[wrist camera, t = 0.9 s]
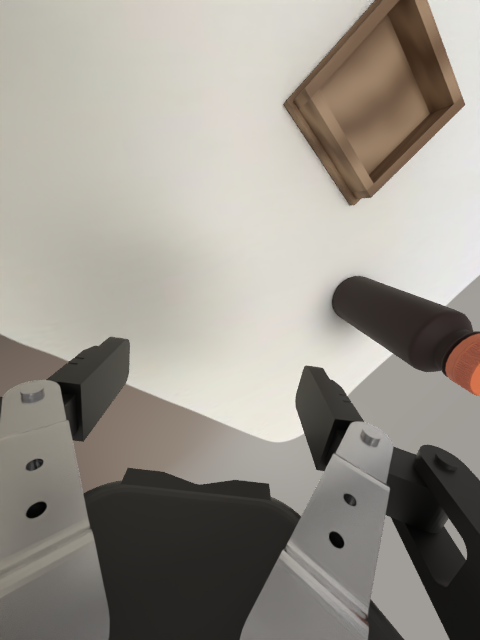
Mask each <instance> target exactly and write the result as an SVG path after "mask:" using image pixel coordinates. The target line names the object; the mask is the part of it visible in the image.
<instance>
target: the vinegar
mask: <svg viewBox="0 0 480 640" xmlns="http://www.w3.org/2000/svg"><path fill="white" fill-rule="evenodd" d="M333 308H334V310H335V312H336V314H337V315H338V316H340V317H341V318H342V319H344V320H345V321H347V322H348V323H350V324H351V325H352V326H354V327H355V328H357V329H358V330H360V331H361V332H363V333H364V334H366V335H367V336H369V337H370V338H371V339H373V340H374V341H376V342H377V343H379V344H380V345H382V346H383V347H385V348H386V349H388V350H389V351H390V352H392V353H393V354H395V355H396V356H398V357H399V358H401V359H402V360H404V361H405V362H407V363H408V364H409V365H411V366H413V367H414V368H416V369H418V370H421V371H424V372H434V371H441V370H442V372H443V373H444V374H445V376H447V377H449V379H450V380H452V381H453V382H455V383H457V384H458V385H460V386H461V387H463V388H465V389H466V390H468V391H469V392H471V393H472V394H474V395H478V396H480V332H473V329H472V325H471V322H470V321H469V319H468V318H467V317H466V316H465V314H463V313H460V312H458V311H456V310H454V309H451V308H448V307H446V306H443V305H440V304H437V303H435V302H432V301H429V300H426V299H424V298H421V297H418V296H415V295H412V294H410V293H407V292H404V291H401V290H399V289H396V288H393V287H390V286H388V285H385V284H382V283H379V282H377V281H374V280H371V279H368V278H366V277H361V276H355V277H352V278H349V279H347V280H345V281H344V282H342V284H341V285H340V286H339V287H338V288H337V290H336V292H335V294H334V297H333Z"/></svg>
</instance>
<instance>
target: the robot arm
mask: <svg viewBox="0 0 480 640" xmlns="http://www.w3.org/2000/svg"><path fill="white" fill-rule="evenodd" d="M129 354H130V343H129V340H128V339H122V338H115V337H109V338H108V339H107V340H105V341H104V342H103V343H102V344H101V345H99V346H93V347H91V348H88V349H86V350H83V351H82V352H81V353H80V354H78V355H77V356H76V357H75V358H73V359H72V360H71V361H69V363H68V364H66V365H64V366H63V367H62V368H61V369H60V370H58V371H57V372H55V373H54V374H53V375H52V376H50V377H49V378H48V379H47V380H36V381H30V382H26V383H23V384H20V385H17V386H15V387H13V388H12V389H10V390H9V391H7V392H6V393H5V395H4V396H3V397H0V640H404V639H403V638H402V636H401V635H400V634H399V633H398V632H397V630H396V629H395V628H394V627H393V626H392V624H391V623H390V622H389V621H388V620H387V619H386V617H385V616H384V615H383V613H382V612H381V611H380V610H379V609H378V608H377V606H376V605H375V604H374V603H373V601H372V600H371V599H370V598H371V592H372V586H373V581H374V575H375V570H376V564H377V558H378V553H379V548H380V542H381V537H382V531H383V525H384V520H385V515H387V516H390V517H391V518H392V520H393V523H394V525H395V527H396V529H397V531H398V533H399V535H400V537H401V539H402V541H403V543H404V545H405V548H406V550H407V552H408V554H409V556H410V558H411V560H412V562H413V564H414V566H415V568H416V570H417V572H418V574H419V576H420V579H421V581H422V583H423V585H424V587H425V589H426V591H427V593H428V595H429V597H430V600H431V602H432V604H433V606H434V608H435V610H436V612H437V614H438V616H439V618H440V620H441V622H442V624H443V626H444V629H445V631H446V633H447V635H448V637H449V639H450V640H480V481H479V479H478V478H477V477H476V476H475V475H474V474H473V473H472V472H471V471H470V469H469V468H468V467H467V466H466V465H465V464H464V463H463V462H461V461H460V460H459V459H458V458H457V457H455V456H454V455H452V454H451V453H449V452H447V451H445V450H443V449H441V448H438V447H435V446H432V445H423V446H421V447H420V449H419V451H418V453H417V455H415V454H412V453H409V452H406V451H404V450H401V449H398V448H396V447H393V443H392V441H391V440H390V438H389V437H388V436H387V435H386V434H385V433H384V432H383V431H381V430H380V429H379V428H377V427H375V426H373V425H371V424H368V423H365V422H364V421H363V419H362V418H361V416H360V415H359V413H358V412H357V410H356V408H355V407H354V406H353V404H352V403H351V401H350V399H349V398H348V397H347V395H346V393H345V392H344V390H343V389H342V387H341V386H339V385H338V384H337V383H336V382H335V381H333V380H330V379H329V377H328V376H327V374H326V373H325V371H324V369H323V368H320V367H313V366H305V367H304V369H303V372H302V376H301V379H300V383H299V386H298V390H297V393H296V401H295V402H296V409H297V412H298V415H299V418H300V421H301V424H302V427H303V430H304V433H305V436H306V439H307V442H308V445H309V448H310V451H311V454H312V457H313V460H314V463H315V467H316V469H317V470H321V471H324V473H323V475H322V477H321V479H320V481H319V483H318V485H317V487H316V489H315V491H314V493H313V495H312V497H311V498H310V500H309V503H308V504H307V506H306V509H305V510H304V512H303V514H302V516H300V515H299V514H298V513H296V512H295V511H294V510H293V509H292V508H290V507H289V506H287V505H286V504H284V503H282V502H281V501H279V500H277V499H275V498H272V497H270V489H269V484H266V483H256V482H247V481H239V480H232V481H225V482H217V483H211V484H203V485H198V484H194V483H191V482H189V481H186V480H183V479H181V478H178V477H175V476H173V475H170V474H167V473H165V472H160V471H150V470H142V469H133V468H128V469H127V471H126V474H125V475H124V478H123V480H122V481H116V482H112V483H108V484H105V485H102V486H99V487H96V488H94V489H92V490H89V491H87V492H86V493H84V494H83V490H82V485H81V480H80V475H79V470H78V465H77V460H76V455H75V450H74V445H73V440H75V441H84V440H85V438H86V437H87V436H88V435H89V433H90V432H91V430H92V429H93V428H94V426H95V425H96V424H97V422H98V421H99V419H100V418H101V417H102V415H103V414H104V413H105V411H106V410H107V408H108V407H109V406H110V404H111V403H112V401H113V400H114V399H115V397H116V396H117V394H118V393H119V392H120V390H121V389H122V388H123V386H124V385H125V383H126V381H127V378H128V374H129ZM448 518H449V519H450V520H451V522H452V523H453V525H454V526H455V528H456V529H457V531H458V532H459V534H460V535H461V537H462V538H463V540H464V542H465V545H466V549H467V560H465V558H464V557H463V555H462V554H461V552H460V550H459V549H458V547H457V546H456V544H455V543H454V541H453V540H452V538H451V536H450V535H449V534H448V532H447V530H446V529H445V527H444V524H445V523H446V521H447V520H448Z"/></svg>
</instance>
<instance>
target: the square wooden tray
mask: <svg viewBox="0 0 480 640" xmlns="http://www.w3.org/2000/svg"><path fill="white" fill-rule="evenodd" d="M284 106H285V107H286V109H287V110H288V112H289V113H290V115H291V116H292V118H293V119H294V121H295V122H296V124H297V125H298V127H299V128H300V130H301V131H302V133H303V135H304V136H305V138H306V139H307V141H308V142H309V144H310V145H311V147H312V148H313V150H314V151H315V153H316V154H317V156H318V157H319V159H320V160H321V162H322V163H323V165H324V166H325V168H326V169H327V171H328V172H329V174H330V175H331V177H332V179H333V180H334V182H335V183H336V185H337V186H338V188H339V189H340V191H341V192H342V194H343V195H344V197H345V198H346V200H347V201H348V203H349V204H350V205H355V204H356V203H357V202H358V201H359V200H360V199H361V198H371V197H372V196H373V195H374V194H375V193H376V192H377V191H378V190H379V189H380V188H381V187H382V186H383V185H384V184H385V183H386V182H387V181H388V180H389V179H390V178H391V177H392V176H393V175H394V174H395V173H397V172H398V171H399V170H400V169H401V168H402V167H403V166H404V165H405V164H406V163H407V162H408V161H409V160H410V159H411V158H412V157H413V156H414V155H415V154H416V153H417V152H418V151H419V150H420V149H421V148H422V147H423V146H424V145H425V144H426V143H427V142H428V141H429V140H430V139H431V138H432V137H433V136H434V135H435V134H436V133H437V132H438V131H439V130H440V129H441V128H442V127H443V126H444V125H445V124H446V123H447V122H448V121H449V120H450V119H451V118H452V117H453V116H454V115H455V114H456V113H457V112H458V111H459V110H460V109H461V108H462V107H463V106H465V103H464V100H463V97H462V95H461V92H460V89H459V86H458V84H457V81H456V78H455V75H454V73H453V70H452V67H451V64H450V62H449V59H448V56H447V53H446V51H445V48H444V45H443V42H442V40H441V37H440V34H439V31H438V28H437V26H436V23H435V20H434V17H433V15H432V12H431V9H430V6H429V4H428V1H427V0H375V1H374V2H373V4H372V5H371V6H370V7H369V8H368V9H367V10H366V11H365V13H364V14H363V15H362V16H361V17H360V18H359V19H358V21H357V22H356V23H355V24H354V25H353V26H352V27H351V28H350V30H349V31H348V32H347V33H346V34H345V35H344V36H343V37H342V39H341V40H340V41H339V42H338V43H337V44H336V45H335V47H334V48H333V49H332V50H331V51H330V52H329V53H328V54H327V56H326V57H325V58H324V59H323V60H322V61H321V62H320V63H319V65H318V66H317V67H316V68H315V69H314V70H313V71H312V72H311V74H310V75H309V76H308V77H307V78H306V79H305V80H304V82H303V83H302V84H301V85H300V86H299V87H298V88H297V89H296V91H295V92H294V93H293V94H292V95H291V96H290V97H289V98H288V100H287V101H286V102H285V103H284Z"/></svg>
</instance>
